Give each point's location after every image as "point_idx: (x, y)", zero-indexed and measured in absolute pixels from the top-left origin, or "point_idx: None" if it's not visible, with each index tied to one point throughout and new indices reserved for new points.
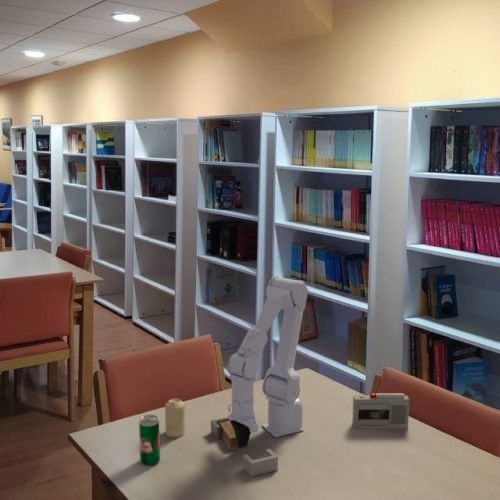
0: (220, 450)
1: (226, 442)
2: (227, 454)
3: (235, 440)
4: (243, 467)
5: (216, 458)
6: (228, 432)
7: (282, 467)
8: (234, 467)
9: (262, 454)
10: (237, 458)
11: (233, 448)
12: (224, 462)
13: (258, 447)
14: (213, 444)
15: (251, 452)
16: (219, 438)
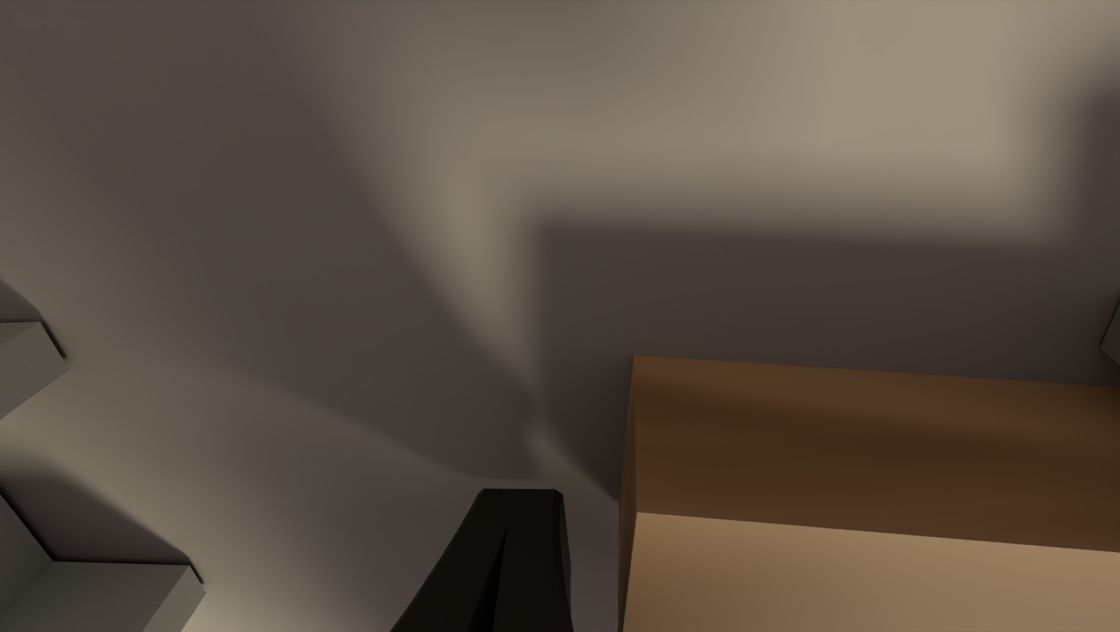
0: (681, 197)
1: (861, 381)
2: (495, 259)
3: (626, 533)
4: (29, 326)
5: (408, 11)
6: (923, 568)
7: None
8: (66, 215)
9: (373, 594)
10: (334, 346)
11: (629, 401)
12: (233, 115)
13: None
14: (989, 150)
15: (449, 532)
16: (1107, 333)
